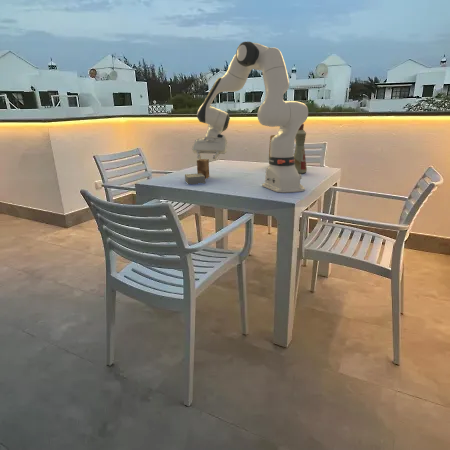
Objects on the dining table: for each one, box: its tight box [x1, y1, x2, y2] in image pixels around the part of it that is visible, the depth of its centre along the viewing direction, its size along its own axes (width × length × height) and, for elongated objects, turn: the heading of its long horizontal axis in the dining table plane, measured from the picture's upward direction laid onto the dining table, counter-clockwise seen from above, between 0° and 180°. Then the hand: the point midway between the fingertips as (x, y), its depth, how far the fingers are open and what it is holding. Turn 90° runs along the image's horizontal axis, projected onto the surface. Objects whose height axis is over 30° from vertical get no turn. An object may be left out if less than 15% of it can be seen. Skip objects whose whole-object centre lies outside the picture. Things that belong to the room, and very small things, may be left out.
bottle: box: [293, 123, 307, 175], centre depth 189 cm, size 9×9×28 cm
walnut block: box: [196, 158, 210, 180], centre depth 183 cm, size 5×5×10 cm
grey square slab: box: [184, 173, 206, 185], centre depth 174 cm, size 9×9×4 cm
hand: (206, 158), depth 186 cm, fingers open, 8 cm apart
